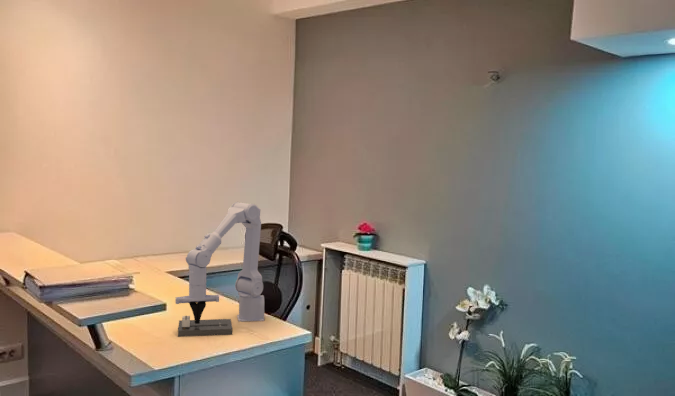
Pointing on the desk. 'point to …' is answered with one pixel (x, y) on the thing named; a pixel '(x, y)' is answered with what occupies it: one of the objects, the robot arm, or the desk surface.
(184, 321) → the fader knob
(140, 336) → the desk surface
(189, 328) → the fader console
